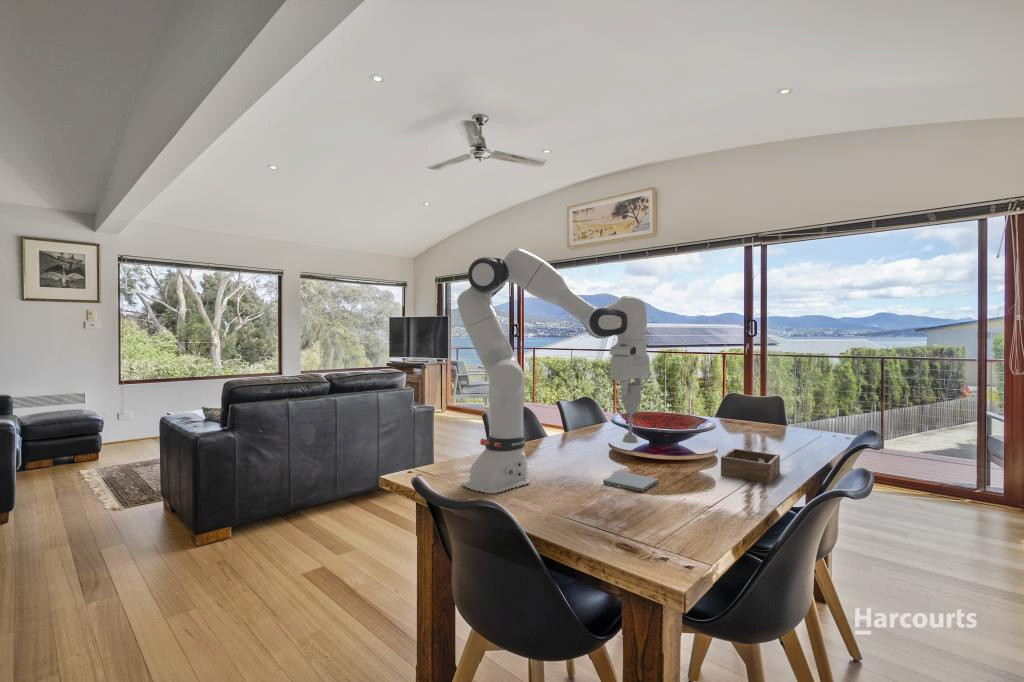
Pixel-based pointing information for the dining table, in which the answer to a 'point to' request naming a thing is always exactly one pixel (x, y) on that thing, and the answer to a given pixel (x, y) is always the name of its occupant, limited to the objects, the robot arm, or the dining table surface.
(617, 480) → the slate board
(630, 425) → the chalice
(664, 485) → the dining table surface
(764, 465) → the walnut display box
